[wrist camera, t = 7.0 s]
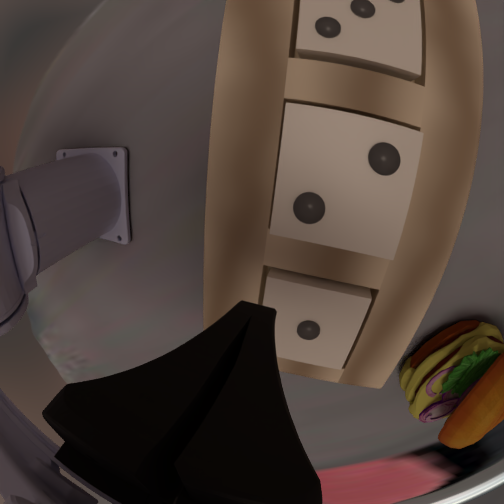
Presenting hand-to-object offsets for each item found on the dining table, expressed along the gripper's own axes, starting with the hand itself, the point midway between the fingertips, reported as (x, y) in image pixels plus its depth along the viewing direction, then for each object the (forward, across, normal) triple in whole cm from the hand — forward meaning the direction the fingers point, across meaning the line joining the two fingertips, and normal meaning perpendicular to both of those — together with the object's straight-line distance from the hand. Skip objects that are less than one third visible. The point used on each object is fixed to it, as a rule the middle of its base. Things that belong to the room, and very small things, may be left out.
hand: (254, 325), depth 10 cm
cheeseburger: (+9, -17, +7) cm, 20 cm away
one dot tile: (+8, -2, +4) cm, 9 cm away
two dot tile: (+7, -2, -5) cm, 9 cm away
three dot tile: (+8, -2, -14) cm, 16 cm away
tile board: (+9, -2, -5) cm, 10 cm away
